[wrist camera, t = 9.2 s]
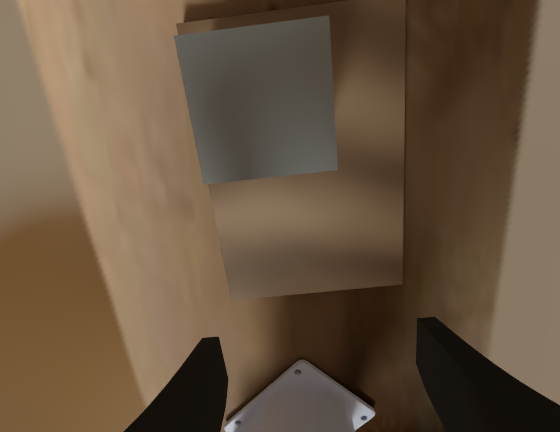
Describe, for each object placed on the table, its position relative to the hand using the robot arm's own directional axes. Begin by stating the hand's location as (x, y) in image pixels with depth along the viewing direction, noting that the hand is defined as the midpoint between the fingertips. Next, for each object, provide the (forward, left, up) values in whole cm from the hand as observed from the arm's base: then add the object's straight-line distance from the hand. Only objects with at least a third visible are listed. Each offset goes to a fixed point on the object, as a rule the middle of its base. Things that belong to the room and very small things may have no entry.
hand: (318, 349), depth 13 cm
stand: (+3, +3, -10) cm, 11 cm away
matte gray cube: (+5, +7, -9) cm, 12 cm away
